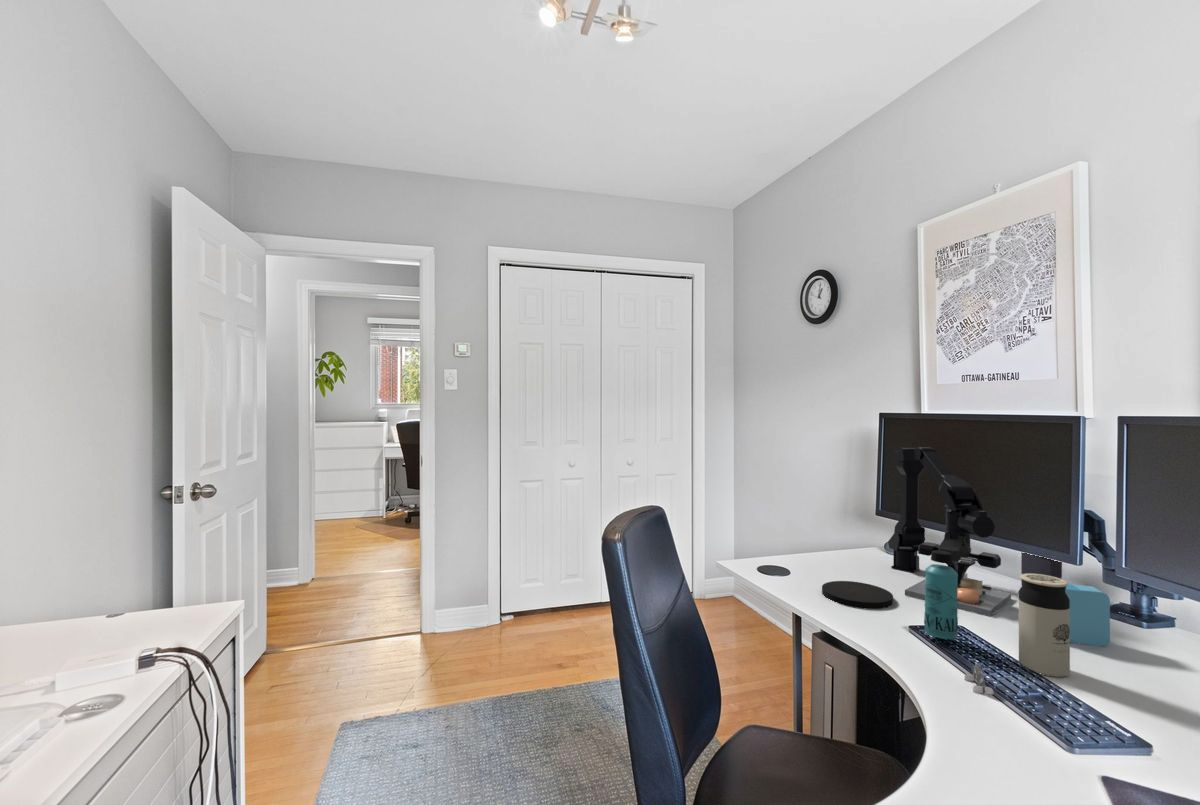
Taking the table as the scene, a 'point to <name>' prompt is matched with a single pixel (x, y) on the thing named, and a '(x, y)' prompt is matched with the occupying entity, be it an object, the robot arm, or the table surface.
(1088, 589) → the data package
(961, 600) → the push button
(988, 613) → the grey railed board
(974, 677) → the grey lobed figure
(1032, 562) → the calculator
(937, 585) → the beverage bottle
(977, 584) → the beech slider
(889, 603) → the wireless charger
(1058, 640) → the travel mug
